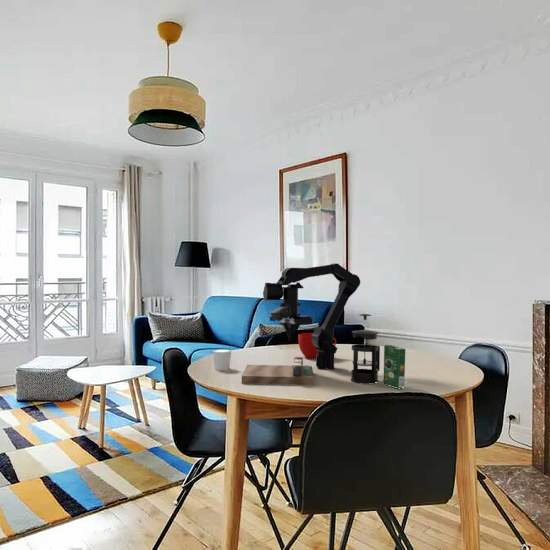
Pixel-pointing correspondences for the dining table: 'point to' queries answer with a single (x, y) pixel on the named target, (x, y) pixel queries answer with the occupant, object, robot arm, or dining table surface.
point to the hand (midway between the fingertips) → (290, 341)
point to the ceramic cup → (308, 345)
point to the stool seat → (277, 375)
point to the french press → (364, 374)
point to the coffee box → (394, 366)
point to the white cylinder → (222, 359)
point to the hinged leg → (297, 366)
